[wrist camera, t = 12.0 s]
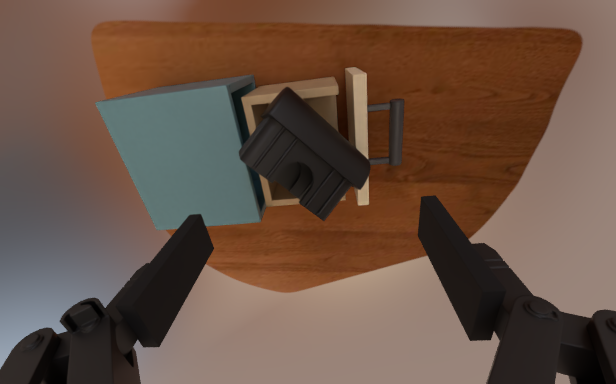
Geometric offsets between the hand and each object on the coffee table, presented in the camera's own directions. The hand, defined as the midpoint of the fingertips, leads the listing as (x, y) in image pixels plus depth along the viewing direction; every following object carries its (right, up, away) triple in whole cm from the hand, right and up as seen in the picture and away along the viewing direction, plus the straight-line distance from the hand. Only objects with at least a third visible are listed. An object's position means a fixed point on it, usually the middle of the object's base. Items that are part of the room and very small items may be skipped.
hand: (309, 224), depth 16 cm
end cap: (-1, +6, +12) cm, 13 cm away
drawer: (+3, +10, +18) cm, 21 cm away
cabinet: (-12, +9, +20) cm, 26 cm away
